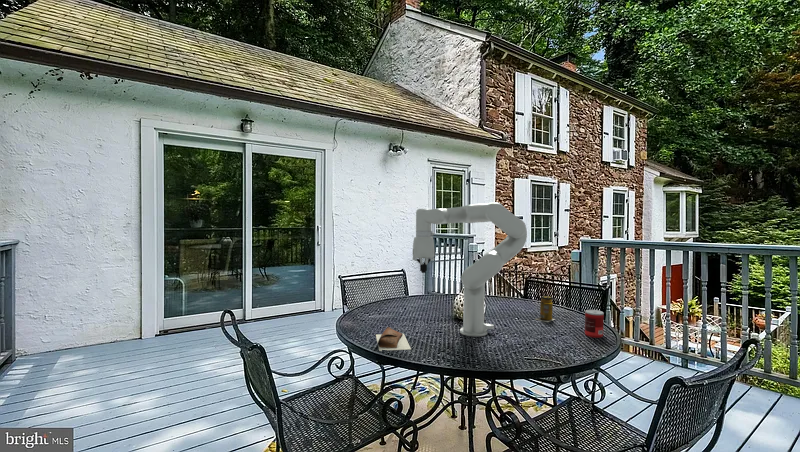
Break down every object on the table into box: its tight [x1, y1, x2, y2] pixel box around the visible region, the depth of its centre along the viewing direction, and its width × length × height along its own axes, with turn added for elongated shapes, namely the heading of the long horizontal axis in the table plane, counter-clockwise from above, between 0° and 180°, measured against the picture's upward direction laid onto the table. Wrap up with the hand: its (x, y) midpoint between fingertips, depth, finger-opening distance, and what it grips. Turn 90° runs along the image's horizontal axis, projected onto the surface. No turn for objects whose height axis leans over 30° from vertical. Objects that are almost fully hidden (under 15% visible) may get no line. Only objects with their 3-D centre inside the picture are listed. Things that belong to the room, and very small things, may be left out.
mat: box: [375, 333, 412, 352], centre depth 171 cm, size 13×21×1 cm, turn 8°
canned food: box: [584, 309, 605, 339], centre depth 181 cm, size 8×8×11 cm
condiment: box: [535, 295, 556, 323], centre depth 208 cm, size 7×8×12 cm
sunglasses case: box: [377, 326, 404, 348], centre depth 172 cm, size 18×7×7 cm, turn 172°
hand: (423, 272), depth 190 cm, fingers closed
